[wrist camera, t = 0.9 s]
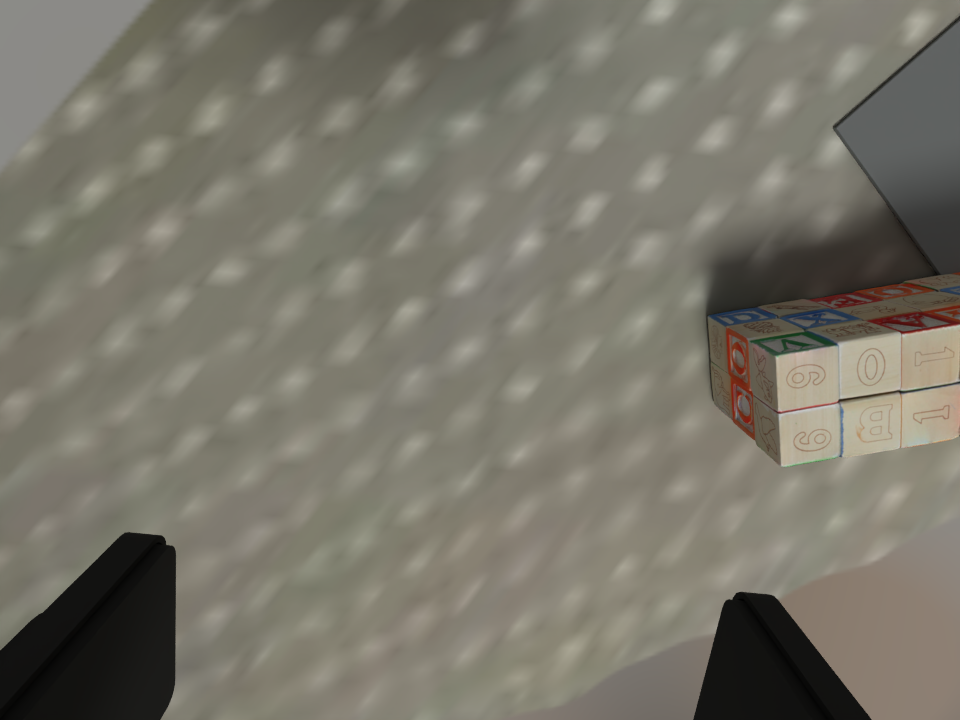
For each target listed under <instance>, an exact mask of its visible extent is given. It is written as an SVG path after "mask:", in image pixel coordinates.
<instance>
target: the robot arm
mask: <svg viewBox="0 0 960 720" xmlns="http://www.w3.org/2000/svg"><path fill="white" fill-rule="evenodd" d="M175 619H176V551H175V548H174V547H173V546H169V545H166V541H165V538H164V537H163V536H161V535H151V534H141V533H130V532H127V533H124V534H123V535H121V536H120V537H119V538H118V539H117V540H116V541H115V542H114V543H113V544H112V545H111V546H110V547H109V548H108V549H107V550H106V551H105V552H104V553H103V554H102V555H101V556H100V557H99V558H98V559H97V560H96V561H95V562H94V563H93V564H92V565H91V566H90V567H89V568H88V569H87V570H86V571H85V572H84V573H83V574H82V575H80V576H79V577H78V578H77V579H76V580H75V581H74V582H73V583H72V584H71V585H70V586H69V587H68V588H67V589H66V590H65V591H64V592H63V593H62V594H61V595H60V596H59V597H58V598H57V599H56V600H55V601H54V602H53V603H52V604H51V605H50V606H49V607H48V608H47V609H46V610H45V611H44V612H43V613H41V614H39V615H38V616H36V617H35V618H34V619H32V620H31V621H30V622H29V623H28V624H27V625H26V626H25V627H24V628H23V629H22V630H21V631H20V632H19V633H18V634H17V635H16V636H15V637H14V638H13V639H12V640H11V641H10V642H9V643H8V644H7V645H6V646H5V647H4V648H2V649H1V650H0V720H160V719H161V718H162V716H163V714H164V712H165V711H166V709H167V707H168V705H169V703H170V700H171V698H172V695H173V691H174V686H175ZM693 720H871V718H870V717H869V716H868V714H867V713H866V712H865V711H864V709H863V708H862V707H861V706H860V704H859V703H858V702H857V700H856V699H855V698H854V697H853V695H852V694H851V693H850V692H849V690H848V689H847V688H846V686H845V685H844V684H843V683H842V681H841V680H840V679H839V677H838V676H837V675H836V674H835V672H834V671H833V670H832V669H831V667H830V666H829V665H828V663H827V662H826V661H825V659H824V658H823V657H822V656H821V654H820V653H819V652H818V651H817V649H816V648H815V647H814V645H813V644H812V643H811V642H810V640H809V639H808V638H807V637H806V635H805V634H804V633H803V631H802V630H801V629H800V628H799V626H798V625H797V624H796V622H795V621H794V620H793V619H792V617H791V616H790V615H789V614H788V612H787V611H786V610H785V608H784V607H783V606H782V605H781V603H780V602H779V601H778V599H776V598H775V597H774V596H772V595H768V594H757V593H747V592H738V593H736V594H735V596H734V597H733V600H726V602H725V603H724V605H723V608H722V612H721V615H720V619H719V623H718V627H717V631H716V635H715V638H714V642H713V647H712V650H711V654H710V658H709V662H708V666H707V670H706V673H705V677H704V681H703V685H702V689H701V692H700V696H699V700H698V704H697V708H696V712H695V715H694V719H693Z"/></svg>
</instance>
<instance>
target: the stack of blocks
mask: <svg viewBox="0 0 960 720" xmlns="http://www.w3.org/2000/svg"><path fill="white" fill-rule="evenodd" d="M708 330H709V342H710V358H711V379H712V391H713V399H714V404H715V405H716V406H717V407H718V408H719V409H720V410H721V411H722V412H723V413H724V414H726V415H727V416H728V417H729V418H731V419H732V420H733V422H734V423H735V424H736V425H737V426H738V427H739V428H740V429H742V430H743V431H744V432H745V433H746V434H747V435H748V436H750V437H751V438H752V439H753V440H755V441H756V444H757V446H758V447H760V448H761V449H762V450H763V451H764V452H765V453H766V454H767V455H768V456H769V457H771V458H772V459H773V460H774V461H775V462H776V463H777V464H778V465H780V466H781V467H789V466H794V465H800V464H806V463H811V462H817V461H823V460H828V459H834V458H836V457H842V458H846V457H852V456H858V455H864V454H870V453H876V452H881V451H888V450H894V449H898V448H909V447H914V446H920V445H925V444H930V443H936V442H941V441H946V440H951V439H954V438H956V437H958V436H960V272H958V273H953V274H945V275H938V276H932V277H926V278H920V279H914V280H908V281H904V282H903V283H901V284H894V285H889V286H884V287H877V288H871V289H865V290H859V291H855V292H853V293H847V294H840V295H834V296H828V297H823V298H816V299H810V300H806V299H799V300H793V301H787V302H781V303H775V304H768V305H762V306H758V307H756V308H748V309H741V310H735V311H730V312H724V313H718V314H712V315H709V316H708Z"/></svg>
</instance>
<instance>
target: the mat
mask: <svg viewBox="0 0 960 720" xmlns="http://www.w3.org/2000/svg"><path fill="white" fill-rule="evenodd" d="M834 130H835V132H836V133H837V135H838V136H839V137H840V139H841V140H842V142H843V143H844V144H845V146H846V147H847V149H848V150H849V151H850V153H851V154H852V156H853V157H854V158H855V160H856V161H857V163H858V164H859V165H860V167H861V168H862V170H863V171H864V172H865V174H866V175H867V176H868V178H869V179H870V181H871V182H872V183H873V185H874V186H875V188H876V189H877V190H878V192H879V193H880V195H881V196H882V197H883V199H884V200H885V202H886V203H887V204H888V206H889V207H890V209H891V210H892V211H893V213H894V214H895V216H896V217H897V218H898V220H899V221H900V223H901V224H902V225H903V227H904V228H905V230H906V231H907V232H908V234H909V235H910V237H911V238H912V239H913V241H914V242H915V244H916V245H917V246H918V248H919V249H920V251H921V252H922V253H923V255H924V256H925V257H926V259H927V260H928V262H929V263H930V264H931V266H932V267H933V269H934V270H935V271H936V273H937V274H938V275H945V274H953V273H958V272H960V19H959V20H957V21H956V22H955V23H954V24H953V25H952V26H951V27H949V28H948V29H947V30H946V31H945V32H944V33H943V34H941V35H940V36H939V37H938V38H937V39H936V40H935V41H933V42H932V43H931V44H930V45H929V46H928V47H926V48H925V49H924V50H923V51H922V52H921V53H920V54H918V55H917V56H916V57H915V58H914V59H913V60H912V61H910V62H909V63H908V64H907V65H906V66H905V67H904V68H902V69H901V70H900V71H899V72H898V73H897V74H895V75H894V76H893V77H892V78H891V79H890V80H889V81H887V82H886V83H885V84H884V85H883V86H882V87H881V88H879V89H878V90H877V91H876V92H875V93H874V94H873V95H871V96H870V97H869V98H868V99H867V100H866V101H865V102H863V103H862V104H861V105H860V106H859V107H858V108H856V109H855V110H854V111H853V112H852V113H851V114H850V115H848V116H847V117H846V118H845V119H844V120H843V121H842V122H840V123H839V124H838V125H837V126H836V127H835V128H834Z"/></svg>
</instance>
